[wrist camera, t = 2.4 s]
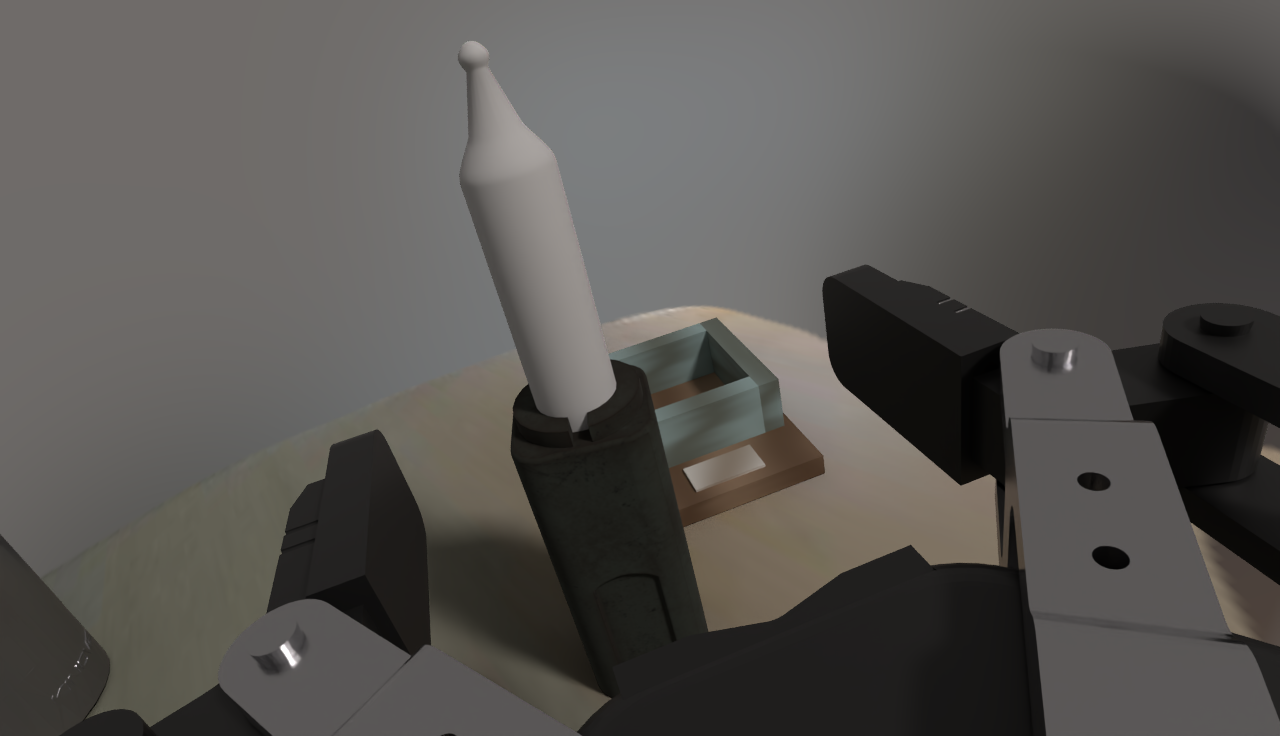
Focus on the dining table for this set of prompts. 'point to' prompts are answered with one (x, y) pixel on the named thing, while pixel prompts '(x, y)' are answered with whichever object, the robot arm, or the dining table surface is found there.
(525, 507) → the dining table surface
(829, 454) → the dining table surface
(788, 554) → the dining table surface
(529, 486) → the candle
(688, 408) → the socket board
